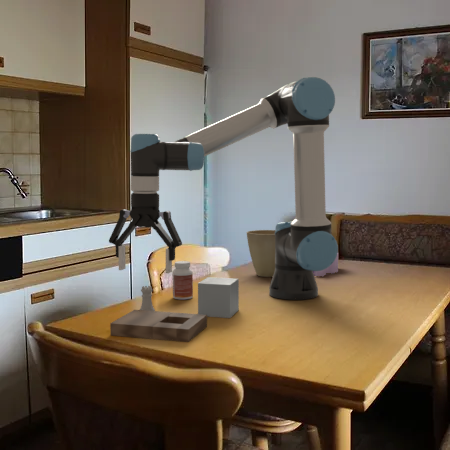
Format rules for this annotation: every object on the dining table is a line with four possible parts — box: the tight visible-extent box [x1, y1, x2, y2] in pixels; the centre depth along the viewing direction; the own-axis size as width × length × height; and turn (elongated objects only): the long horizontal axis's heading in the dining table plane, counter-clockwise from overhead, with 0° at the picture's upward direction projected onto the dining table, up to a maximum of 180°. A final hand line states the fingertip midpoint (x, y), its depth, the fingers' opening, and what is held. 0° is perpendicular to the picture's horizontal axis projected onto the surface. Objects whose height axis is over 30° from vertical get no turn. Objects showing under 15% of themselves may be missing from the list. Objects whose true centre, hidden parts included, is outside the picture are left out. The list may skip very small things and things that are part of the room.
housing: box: [197, 276, 240, 319], centre depth 172 cm, size 9×9×9 cm
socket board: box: [109, 309, 208, 343], centre depth 155 cm, size 20×14×3 cm
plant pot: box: [246, 229, 275, 278], centre depth 227 cm, size 15×15×16 cm
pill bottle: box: [171, 260, 194, 301], centre depth 191 cm, size 6×6×11 cm
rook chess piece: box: [138, 285, 156, 311], centre depth 169 cm, size 4×4×8 cm
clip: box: [313, 252, 339, 277], centre depth 234 cm, size 20×12×7 cm, turn 153°
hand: (145, 271), depth 168 cm, fingers open, 13 cm apart
